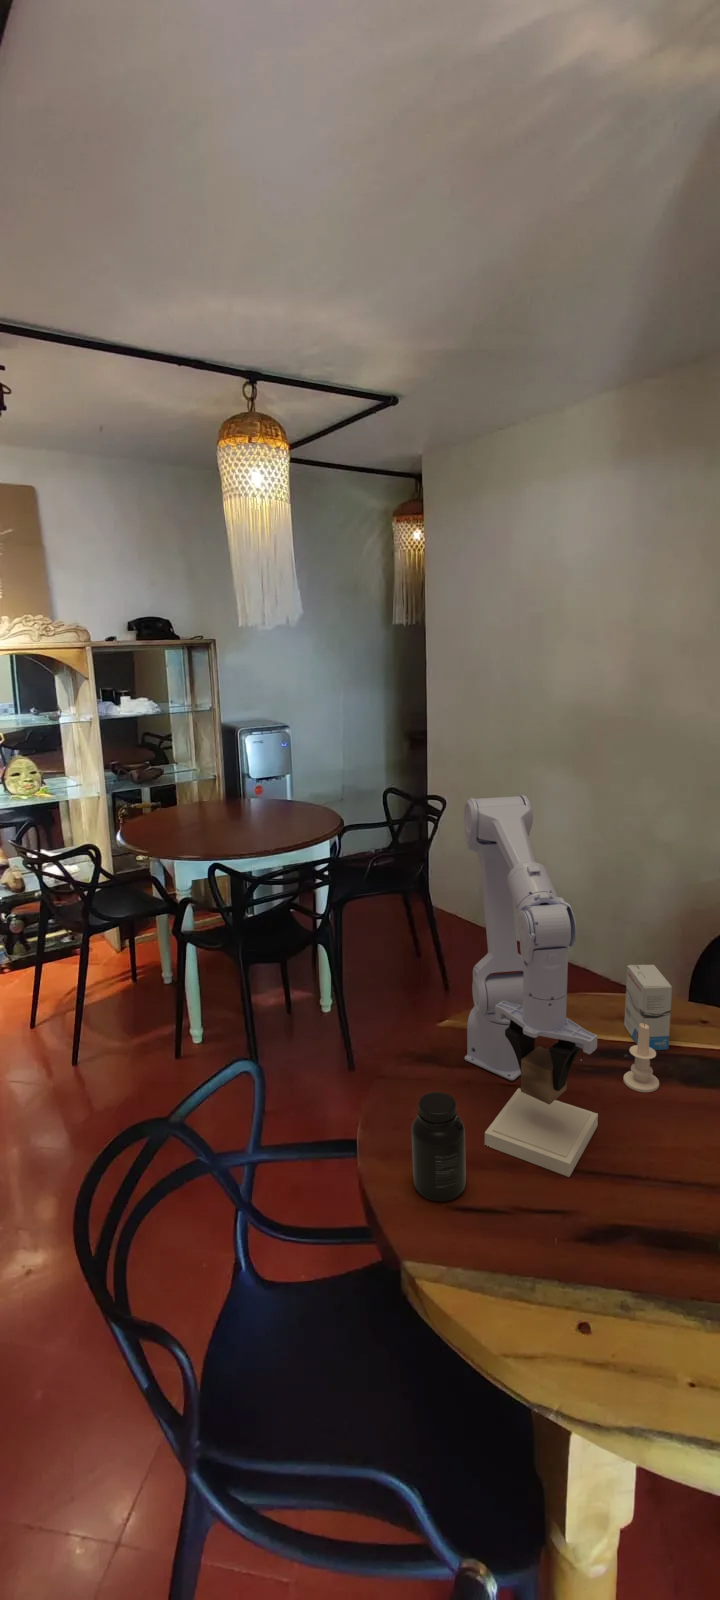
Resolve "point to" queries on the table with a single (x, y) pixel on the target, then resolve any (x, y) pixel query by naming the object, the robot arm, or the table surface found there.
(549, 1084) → the block
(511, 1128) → the plate
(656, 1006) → the ink box
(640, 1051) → the candle
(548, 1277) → the table surface
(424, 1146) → the supplement bottle
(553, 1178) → the table surface
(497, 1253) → the table surface
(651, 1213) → the table surface
